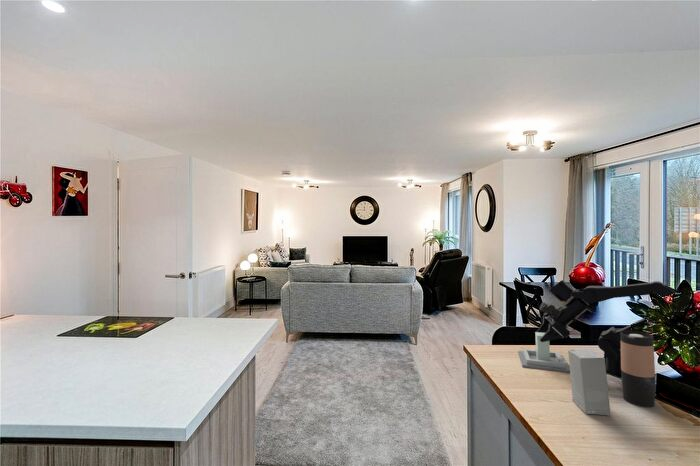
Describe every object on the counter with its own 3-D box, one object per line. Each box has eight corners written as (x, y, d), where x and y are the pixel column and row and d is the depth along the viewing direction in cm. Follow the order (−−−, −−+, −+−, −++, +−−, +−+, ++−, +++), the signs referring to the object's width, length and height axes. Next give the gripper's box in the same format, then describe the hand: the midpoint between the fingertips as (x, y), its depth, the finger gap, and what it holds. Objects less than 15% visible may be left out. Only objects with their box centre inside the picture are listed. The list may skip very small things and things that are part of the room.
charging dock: (562, 356, 135) (561, 351, 135) (572, 372, 120) (571, 366, 120) (518, 352, 141) (518, 347, 141) (522, 367, 126) (522, 360, 126)
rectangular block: (547, 358, 132) (546, 332, 132) (550, 362, 127) (549, 336, 127) (536, 357, 133) (535, 332, 133) (538, 361, 129) (537, 335, 129)
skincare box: (611, 416, 91) (609, 359, 91) (582, 414, 93) (580, 357, 93) (595, 401, 99) (593, 348, 100) (568, 399, 101) (567, 347, 101)
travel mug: (647, 396, 101) (645, 331, 101) (661, 409, 94) (659, 338, 94) (617, 393, 104) (615, 329, 104) (628, 405, 97) (626, 336, 97)
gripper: (548, 291, 138) (519, 316, 142) (558, 300, 120) (525, 328, 124) (571, 311, 135) (541, 336, 139) (584, 323, 117) (549, 351, 121)
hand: (538, 337), depth 131 cm, fingers open, 9 cm apart
